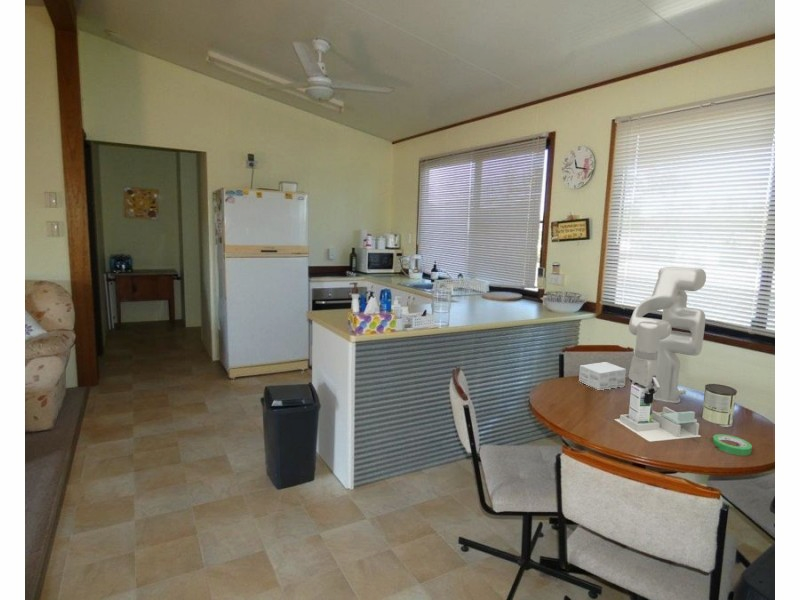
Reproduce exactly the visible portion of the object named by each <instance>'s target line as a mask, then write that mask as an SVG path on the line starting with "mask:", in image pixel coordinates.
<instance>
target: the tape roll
mask: <svg viewBox="0 0 800 600" xmlns="http://www.w3.org/2000/svg"><path fill="white" fill-rule="evenodd" d="M711 440H712V443H713V444H714V445H715V448H716V449H718V450H720V451H722V452H724V453H727V454H730V455H737V456H750V455H751V454H752V449H753V448H752V447H753V445H752V444H751V443H750V442H749V441H747V440H745V439H743V438H740V437H737V436H734V435H730V434H724V433H723V434H722V433H721V434H720V433H718V434H714V435H713V436H712V439H711ZM723 441H732V442H735V443H737V444H735V445H731V444H729V443H726V442H723Z"/></svg>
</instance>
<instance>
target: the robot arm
mask: <svg viewBox="0 0 800 600" xmlns="http://www.w3.org/2000/svg"><path fill="white" fill-rule="evenodd" d="M657 273H658V275H657V276H658V277H657V280H656V283H655V285H654V289H653V291H652V295H651V296H650V297H647V298H646V299H644V300H642V301H641V302H640V303H639V304H638V305H637V306H636V307H635V308H634V310H633V312H632V315H631V316H630V319H629V324H628V331H629V333H630V334H632V335H634V336H636V339H635V348H634V355H633V356H632V358H631V361H630V367H629V373H628V374H627V377H628V378H629V381H630V386H631V385H632V384H634V385H635V384H640V385H642V386H645V387H646V393H645V398H644V403H645V404H650V403H653V404H654V401H656V402H666V403H667V402H668V403H672V404H679V403H680V402H681V397H679V396H681V395H686V394H687V392H686V390H684V389H683V390H682V389H681V390H680V389H678V387H679V378H680V371H681V370H680V369H681V361H680V359H679V357H678V356H677V354H681V355H686V356H694V357H696V356H698V355H700V354H701V352H702V349H703V343H704V333H705V327H706V313H705V312H704V311H703V310H702V309H700V308H694V307H687V305H688V304H687V302H688V294H687V292H697V291H698V290H701V289H702V288H703V287H704V286H705V284H706V279H707V273H706V271H705V270H704V269H703V268H697V267H695V268H693V267H679V266H678V267H677V266H664V267H661V268H660V269H659V270H658V272H657ZM660 310H662V317H661V319H659V318H652V317H644V316H645V315H647V314H650V313H652V312H657V311H660ZM672 328H674V329H680V330H687V331H690V332H685V331H684V332H683V331H678V330H672ZM649 387H651V389H650V390H649ZM653 394H654V398H653Z"/></svg>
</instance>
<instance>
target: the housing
mask: <svg viewBox="0 0 800 600" xmlns="http://www.w3.org/2000/svg"><path fill="white" fill-rule="evenodd" d="M658 413H676V411H675V410H673V409H671V408H669V407H667V406H663V407H662V411H661V412H660V411H659V412H657V411H655V410H653V409H652V419H651V423H643V424H637V423H636V422H634V421H632V420H631V419H629V413H626V414H620V415H619V418H613V419H614V421H616V422H617V423H619V424H620V425H622V426H624V427H626V428H627V429H629V430H630V431H632V432H633V433H635V434H636V435H638V436H639V437H641V438H643V439H644V440H646V441H647V442H657V441H658V442H659V441H669V440H679V439H689V438H700V437H702V435H700V434H699V429H700V423H699V422H698V421H697V422H691V423H680V424H677V423H675V422H673V421H671V420H669V419H667V418H665V417H663V416H662V415H660V414H658Z"/></svg>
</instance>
